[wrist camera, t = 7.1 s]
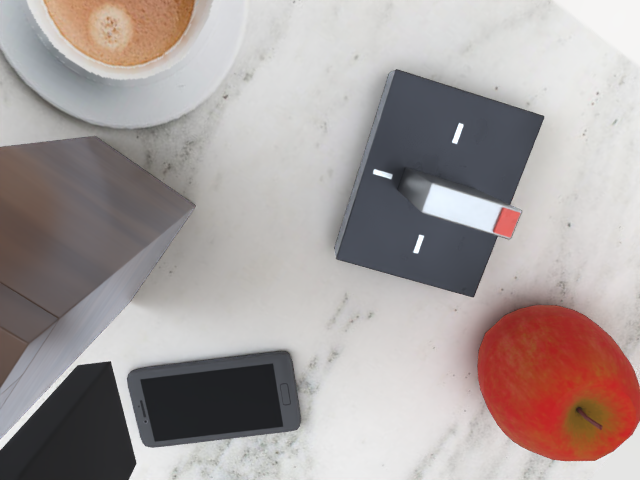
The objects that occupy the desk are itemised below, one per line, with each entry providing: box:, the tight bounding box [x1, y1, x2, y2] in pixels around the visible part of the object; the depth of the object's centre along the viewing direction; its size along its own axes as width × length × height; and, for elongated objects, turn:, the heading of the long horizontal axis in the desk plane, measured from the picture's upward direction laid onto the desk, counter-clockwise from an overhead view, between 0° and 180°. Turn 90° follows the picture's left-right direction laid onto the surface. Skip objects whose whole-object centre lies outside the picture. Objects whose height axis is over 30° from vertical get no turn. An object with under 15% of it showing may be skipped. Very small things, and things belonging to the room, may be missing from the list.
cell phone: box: [127, 352, 301, 448], centre depth 43 cm, size 7×14×1 cm, turn 97°
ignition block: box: [0, 136, 196, 439], centre depth 28 cm, size 10×9×24 cm
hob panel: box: [334, 69, 544, 297], centre depth 37 cm, size 14×11×3 cm
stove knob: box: [398, 167, 522, 239], centre depth 32 cm, size 6×2×8 cm, turn 73°
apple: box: [477, 305, 640, 461], centre depth 38 cm, size 11×11×11 cm
